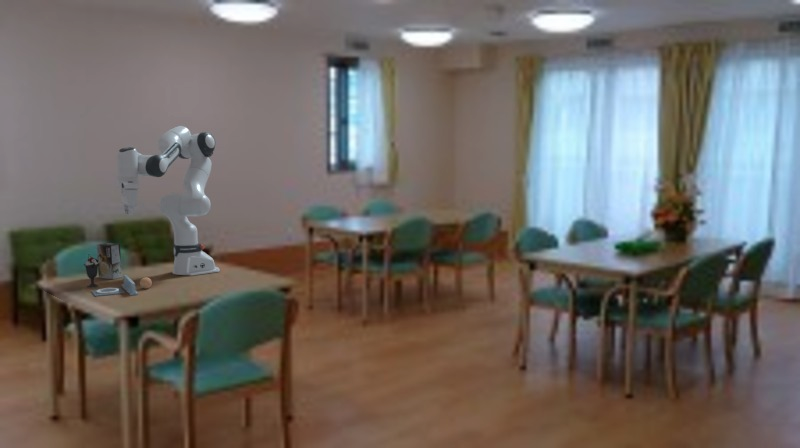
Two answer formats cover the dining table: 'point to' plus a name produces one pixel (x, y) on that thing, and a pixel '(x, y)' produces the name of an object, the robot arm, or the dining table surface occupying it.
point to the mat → (107, 291)
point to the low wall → (129, 285)
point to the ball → (145, 283)
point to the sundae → (92, 270)
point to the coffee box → (109, 261)
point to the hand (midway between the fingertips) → (128, 214)
